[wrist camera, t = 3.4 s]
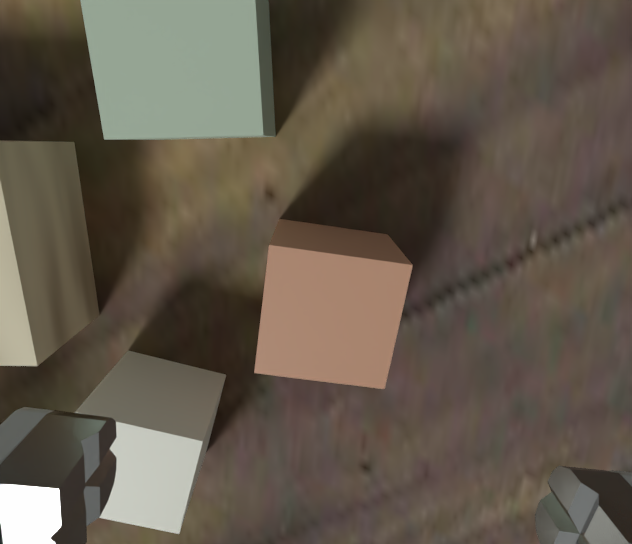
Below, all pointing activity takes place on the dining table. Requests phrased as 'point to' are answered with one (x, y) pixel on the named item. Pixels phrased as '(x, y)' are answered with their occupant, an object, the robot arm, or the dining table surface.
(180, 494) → the cream block
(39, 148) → the maple block
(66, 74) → the dining table surface
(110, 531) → the dining table surface
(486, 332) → the dining table surface
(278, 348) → the terracotta block
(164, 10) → the sage block
